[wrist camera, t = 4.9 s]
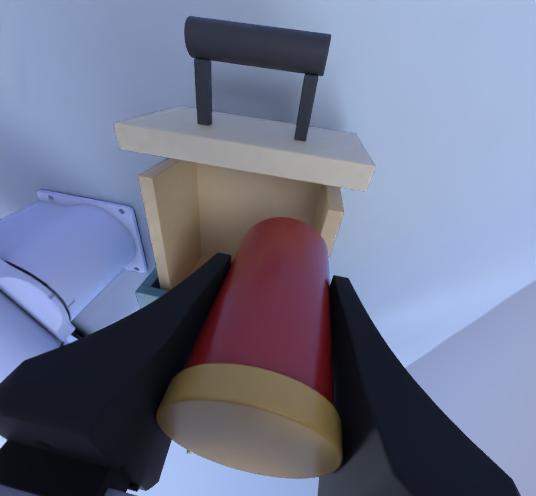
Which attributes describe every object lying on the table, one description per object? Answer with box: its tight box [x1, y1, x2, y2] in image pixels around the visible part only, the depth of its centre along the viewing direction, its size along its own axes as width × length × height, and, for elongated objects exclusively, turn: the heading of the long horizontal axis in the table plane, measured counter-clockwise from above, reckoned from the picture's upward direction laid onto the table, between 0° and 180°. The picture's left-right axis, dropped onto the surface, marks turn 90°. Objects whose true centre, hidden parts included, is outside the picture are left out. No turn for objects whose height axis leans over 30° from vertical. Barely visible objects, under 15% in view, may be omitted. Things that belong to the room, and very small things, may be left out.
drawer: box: [113, 16, 375, 291], centre depth 16 cm, size 16×12×7 cm
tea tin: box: [156, 217, 343, 479], centre depth 9 cm, size 5×5×8 cm
